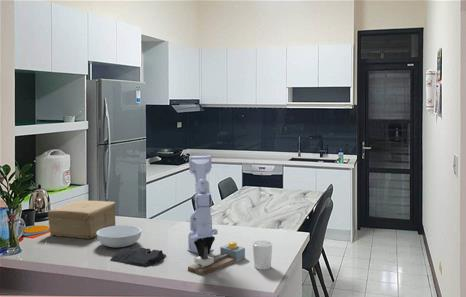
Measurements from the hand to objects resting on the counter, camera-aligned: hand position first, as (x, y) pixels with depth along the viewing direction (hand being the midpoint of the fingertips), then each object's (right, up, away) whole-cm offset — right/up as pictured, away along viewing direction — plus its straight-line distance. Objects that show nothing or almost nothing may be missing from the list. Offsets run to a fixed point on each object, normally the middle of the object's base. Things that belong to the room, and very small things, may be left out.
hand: (204, 255), depth 192 cm
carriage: (0, -4, 0) cm, 4 cm away
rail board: (+3, -5, +4) cm, 8 cm away
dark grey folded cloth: (-30, -5, +14) cm, 33 cm away
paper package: (-67, -1, +58) cm, 89 cm away
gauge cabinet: (+12, -4, +14) cm, 19 cm away
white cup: (+24, -6, +3) cm, 25 cm away
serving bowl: (-43, -3, +34) cm, 54 cm away
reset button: (+12, -2, +14) cm, 18 cm away
